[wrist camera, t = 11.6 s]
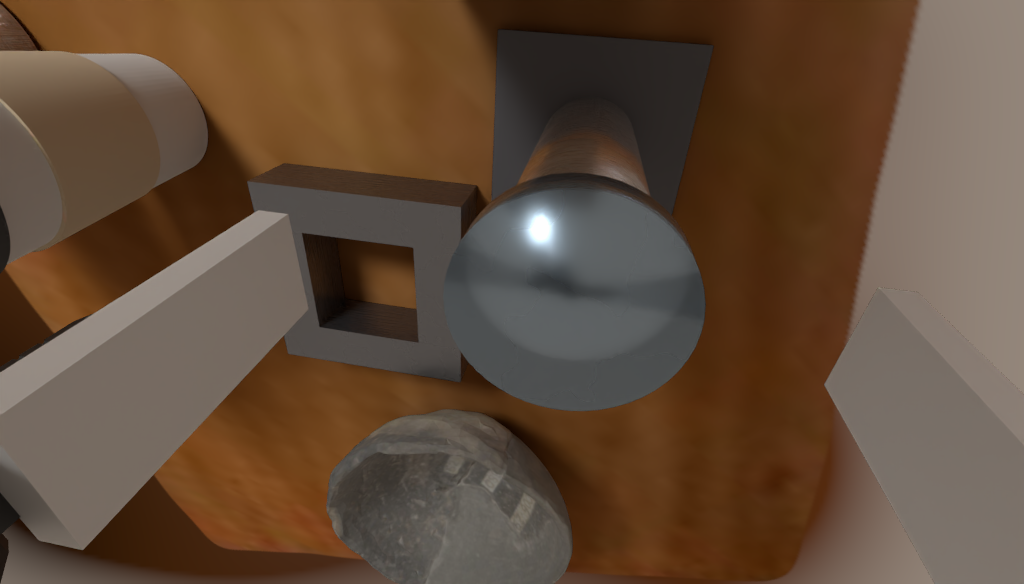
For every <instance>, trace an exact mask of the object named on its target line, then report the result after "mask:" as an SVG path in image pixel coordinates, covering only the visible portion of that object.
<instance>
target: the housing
mask: <svg viewBox="0 0 1024 584" xmlns="http://www.w3.org/2000/svg"><path fill="white" fill-rule="evenodd" d="M247 183H248V188H249V192H250V196H251V200H252V204H253V208H254V213H255V212H256V211H258V210H260V211H268V212H276V213H284V214H288V215H289V220H290V225H291V229H292V234H293V239H294V244H295V248H296V253H297V258H298V262H299V267H300V272H301V276H302V281H303V286H304V290H305V295H306V300H307V305H308V310H307V311H306V312H305V313H304V315H303V316H302V317H301V318H300V319H299V320H298V321H297V322H296V323H295V324H294V325H293V326H292V327H291V328H290V329H289V331H288V332H287V333H286V334H285V335H284V338H285V342H286V346H287V351H288V354H292V355H298V356H305V357H311V358H317V359H323V360H329V361H335V362H341V363H347V364H353V365H359V366H365V367H371V368H377V369H383V370H389V371H395V372H401V373H407V374H414V375H420V376H426V377H432V378H438V379H444V380H450V381H456V382H461V380H462V377H463V375H464V372H465V370H466V367H467V365H468V361H467V360H466V358H465V357H464V355H463V354H462V353H461V351H460V350H459V348H458V346H457V345H456V343H455V341H454V339H453V337H452V335H451V332H450V329H449V327H448V324H447V320H446V316H445V312H444V301H443V293H444V281H445V277H446V272H447V268H448V266H449V263H450V261H451V258H452V256H453V254H454V252H455V250H456V249H457V247H458V245H459V243H460V242H461V240H462V238H463V237H464V235H465V233H466V232H467V230H468V229H469V227H470V225H471V224H472V222H473V221H474V220H475V218H476V201H477V185H468V184H459V183H451V182H442V181H433V180H425V179H416V178H407V177H398V176H390V175H381V174H372V173H364V172H355V171H346V170H338V169H329V168H320V167H312V166H303V165H294V164H286V163H284V164H282V165H279V166H277V167H275V168H273V169H271V170H269V171H267V172H265V173H263V174H261V175H259V176H257V177H255V178H253V179H251V180H249V181H247ZM336 237H337V238H345V239H352V240H360V241H367V242H375V243H382V244H390V245H397V246H405V247H412V248H413V251H414V269H415V287H416V305H417V309H410V308H403V307H397V306H390V305H383V304H377V303H370V302H363V301H356V300H350V299H345V295H344V288H343V281H342V275H341V268H340V261H339V255H338V248H337V241H336Z"/></svg>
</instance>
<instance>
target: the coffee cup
mask: <svg viewBox="0 0 1024 584" xmlns="http://www.w3.org/2000/svg"><path fill="white" fill-rule="evenodd" d="M207 144H208V129H207V123H206V119H205V116H204V113H203V110H202V108H201V106H200V104H199V102H198V100H197V98H196V97H195V95H194V93H193V92H192V90H191V89H190V88H189V86H188V85H187V84H186V83H185V82H184V80H183V79H182V78H181V77H180V76H179V75H178V74H177V73H175V72H174V71H173V70H172V69H170V68H169V67H168V66H166V65H165V64H163V63H162V62H160V61H158V60H156V59H154V58H151V57H148V56H145V55H141V54H73V53H69V52H63V51H0V273H1V272H2V271H3V270H4V268H5V267H6V265H7V264H9V263H11V262H13V261H14V260H16V259H18V258H20V257H22V256H24V255H26V254H28V253H30V252H36V251H41V250H45V249H47V248H49V247H51V246H53V245H55V244H56V243H58V242H60V241H62V240H64V239H66V238H67V237H69V236H71V235H73V234H75V233H77V232H78V231H80V230H82V229H84V228H86V227H87V226H89V225H91V224H93V223H95V222H97V221H98V220H100V219H102V218H104V217H106V216H108V215H109V214H111V213H113V212H115V211H117V210H119V209H120V208H122V207H124V206H126V205H128V204H130V203H131V202H133V201H135V200H137V199H139V198H141V197H142V196H144V195H146V194H147V193H148V192H149V191H150V190H151V189H152V188H154V187H156V186H158V185H160V184H162V183H164V182H166V181H168V180H170V179H171V178H173V177H175V176H177V175H179V174H181V173H183V172H185V171H187V170H189V169H191V168H192V167H194V166H196V165H197V164H198V163H199V162H200V161H201V159H202V158H203V156H204V154H205V152H206V149H207Z"/></svg>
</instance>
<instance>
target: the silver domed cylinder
mask: <svg viewBox="0 0 1024 584" xmlns="http://www.w3.org/2000/svg"><path fill="white" fill-rule="evenodd" d="M443 301H444V312H445V316H446V320H447V324H448V327H449V329H450V332H451V335H452V337H453V339H454V341H455V343H456V345H457V346H458V348H459V350H460V351H461V353H462V354H463V355H464V357H465V358H466V360H467V361H468V362H469V363H470V364H471V365H472V366H473V367H474V369H475V370H476V371H477V372H478V373H480V374H481V375H482V376H483V377H484V378H485V379H487V380H488V381H489V382H491V383H492V384H493V385H495V386H496V387H498V388H499V389H501V390H503V391H505V392H506V393H508V394H510V395H512V396H514V397H516V398H519V399H521V400H523V401H526V402H529V403H532V404H535V405H539V406H542V407H547V408H552V409H558V410H567V411H591V410H601V409H607V408H612V407H616V406H620V405H623V404H627V403H630V402H632V401H635V400H637V399H639V398H642V397H644V396H646V395H647V394H649V393H651V392H653V391H655V390H656V389H658V388H659V387H660V386H662V385H663V384H665V383H666V382H667V381H669V380H670V379H671V378H672V377H673V376H674V375H675V374H676V373H677V372H678V371H679V370H680V369H681V368H682V366H683V365H684V364H685V363H686V361H687V360H688V359H689V357H690V355H691V354H692V352H693V350H694V349H695V347H696V345H697V342H698V340H699V337H700V335H701V332H702V327H703V323H704V319H705V305H706V303H705V292H704V286H703V282H702V278H701V275H700V271H699V269H698V266H697V263H696V261H695V258H694V255H693V252H692V250H691V247H690V245H689V243H688V240H687V238H686V236H685V234H684V232H683V231H682V229H681V228H680V226H679V225H678V223H677V222H676V220H675V219H674V218H673V217H672V216H671V215H670V213H669V212H668V211H667V210H666V209H665V208H664V207H663V206H661V205H660V204H659V203H658V202H657V201H656V200H654V199H653V198H652V197H650V193H649V189H648V185H647V181H646V177H645V173H644V170H643V166H642V162H641V158H640V154H639V150H638V146H637V142H636V138H635V134H634V130H633V127H632V124H631V122H630V120H629V118H628V117H627V115H626V114H625V113H624V112H623V110H622V109H620V108H619V107H618V106H617V105H615V104H614V103H612V102H610V101H608V100H606V99H602V98H598V97H582V98H578V99H575V100H572V101H570V102H568V103H566V104H564V105H563V106H562V107H560V108H559V109H558V110H557V111H556V112H555V113H554V114H553V115H552V117H551V118H550V119H549V121H548V123H547V125H546V127H545V129H544V131H543V133H542V135H541V137H540V139H539V141H538V143H537V145H536V147H535V149H534V151H533V153H532V155H531V157H530V159H529V161H528V163H527V165H526V167H525V169H524V171H523V173H522V175H521V177H520V179H519V182H518V184H517V185H516V186H514V187H512V188H510V189H508V190H507V191H505V192H503V193H502V194H501V195H499V196H498V197H496V198H495V199H494V200H492V201H491V202H490V203H489V204H488V205H487V206H486V207H485V208H484V209H483V210H482V211H481V212H480V213H479V215H478V216H477V217H476V218H475V220H474V221H473V222H472V224H471V225H470V227H469V229H468V230H467V232H466V233H465V235H464V237H463V238H462V240H461V242H460V243H459V245H458V247H457V249H456V250H455V252H454V254H453V256H452V258H451V261H450V263H449V266H448V268H447V272H446V277H445V281H444V293H443Z"/></svg>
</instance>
